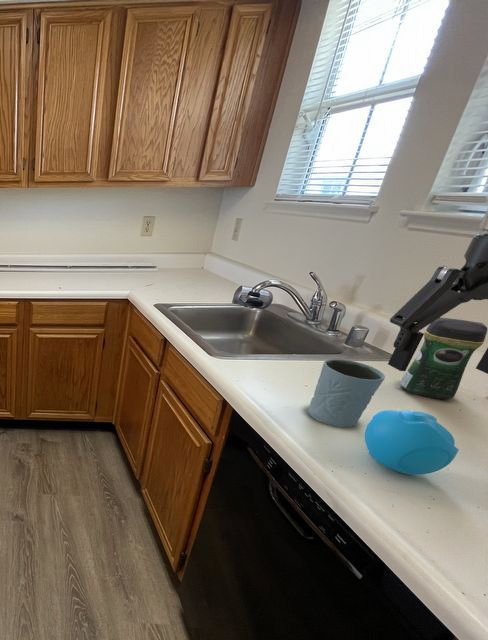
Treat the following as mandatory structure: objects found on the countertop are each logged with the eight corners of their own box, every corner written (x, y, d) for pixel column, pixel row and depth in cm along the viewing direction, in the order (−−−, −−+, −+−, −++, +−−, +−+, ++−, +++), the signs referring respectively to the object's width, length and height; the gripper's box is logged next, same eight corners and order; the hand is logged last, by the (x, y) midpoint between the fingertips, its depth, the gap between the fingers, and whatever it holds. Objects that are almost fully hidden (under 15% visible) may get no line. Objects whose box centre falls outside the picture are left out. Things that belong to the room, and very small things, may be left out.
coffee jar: (447, 391, 104) (487, 320, 96) (455, 403, 98) (498, 329, 90) (396, 380, 109) (430, 312, 101) (400, 392, 103) (436, 320, 95)
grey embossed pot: (314, 401, 98) (333, 355, 93) (368, 420, 91) (392, 371, 86) (297, 414, 93) (316, 366, 88) (353, 435, 85) (377, 383, 80)
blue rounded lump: (453, 481, 73) (489, 425, 68) (410, 495, 70) (443, 437, 65) (377, 443, 83) (403, 392, 78) (336, 453, 80) (361, 401, 75)
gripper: (580, 233, 61) (500, 364, 71) (399, 229, 63) (344, 356, 73) (648, 241, 55) (549, 384, 64) (442, 235, 56) (376, 375, 66)
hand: (440, 370), depth 68 cm, fingers open, 13 cm apart
